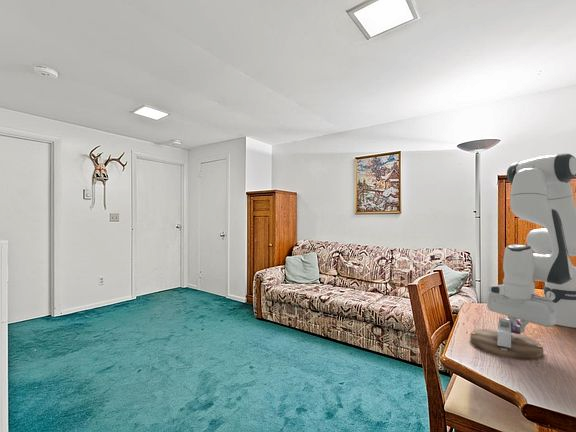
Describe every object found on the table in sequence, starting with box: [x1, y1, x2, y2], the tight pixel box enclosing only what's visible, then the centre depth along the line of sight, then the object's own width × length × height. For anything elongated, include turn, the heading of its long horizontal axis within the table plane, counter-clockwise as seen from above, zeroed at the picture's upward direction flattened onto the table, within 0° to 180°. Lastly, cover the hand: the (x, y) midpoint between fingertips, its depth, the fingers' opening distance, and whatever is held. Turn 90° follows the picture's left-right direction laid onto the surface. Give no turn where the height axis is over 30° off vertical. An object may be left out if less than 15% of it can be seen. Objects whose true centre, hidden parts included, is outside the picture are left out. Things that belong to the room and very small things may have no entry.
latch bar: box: [497, 316, 511, 348], centre depth 103 cm, size 17×4×5 cm, turn 144°
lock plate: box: [469, 328, 544, 361], centre depth 103 cm, size 20×20×3 cm
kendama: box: [506, 316, 522, 335], centre depth 119 cm, size 6×6×20 cm
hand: (518, 331), depth 105 cm, fingers closed
